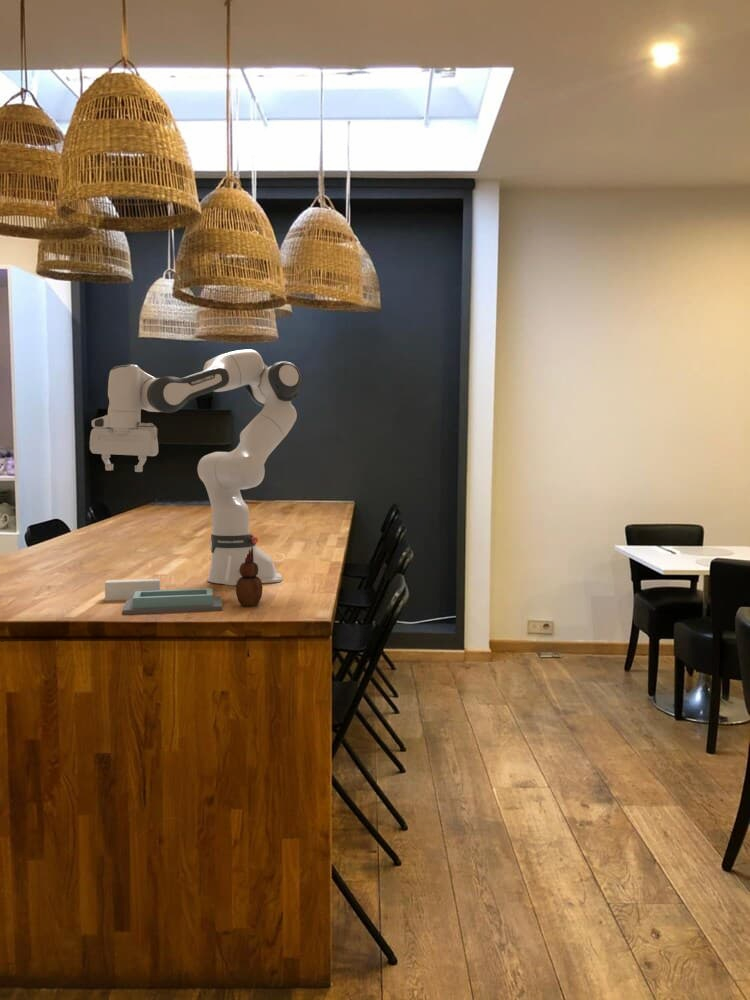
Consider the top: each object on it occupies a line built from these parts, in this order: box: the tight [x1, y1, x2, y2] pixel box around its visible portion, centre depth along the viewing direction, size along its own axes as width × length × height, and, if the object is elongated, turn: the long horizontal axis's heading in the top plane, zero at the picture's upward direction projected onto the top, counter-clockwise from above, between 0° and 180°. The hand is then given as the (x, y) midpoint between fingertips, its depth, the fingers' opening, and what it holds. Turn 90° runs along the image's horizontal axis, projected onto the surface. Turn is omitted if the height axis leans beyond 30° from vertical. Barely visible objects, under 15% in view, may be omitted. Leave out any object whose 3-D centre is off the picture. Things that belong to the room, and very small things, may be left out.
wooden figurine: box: [235, 547, 263, 607], centre depth 197 cm, size 7×6×15 cm
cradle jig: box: [122, 587, 223, 615], centre depth 195 cm, size 24×13×4 cm, turn 103°
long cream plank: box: [104, 578, 161, 601], centre depth 205 cm, size 14×4×5 cm, turn 103°
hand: (123, 471), depth 216 cm, fingers open, 8 cm apart
